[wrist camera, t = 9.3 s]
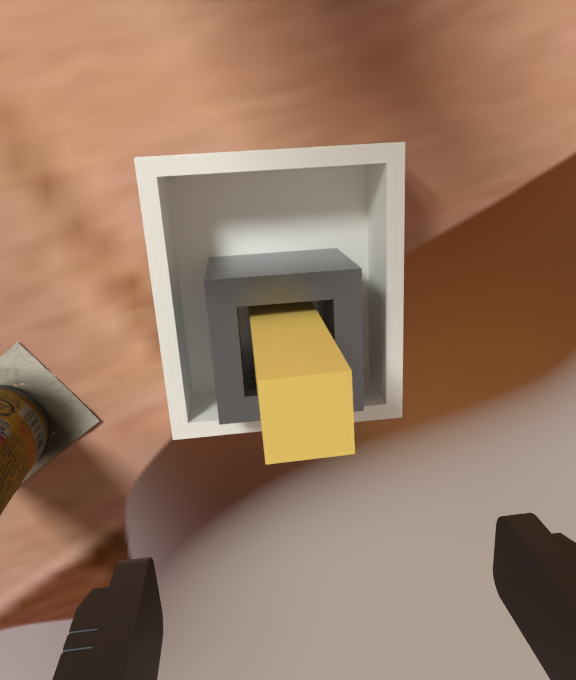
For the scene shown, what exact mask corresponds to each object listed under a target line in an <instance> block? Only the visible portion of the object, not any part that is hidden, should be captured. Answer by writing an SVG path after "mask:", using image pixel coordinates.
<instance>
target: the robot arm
mask: <svg viewBox="0 0 576 680" xmlns="http://www.w3.org/2000/svg"><path fill="white" fill-rule="evenodd" d="M493 576H494V581H495V586H496V589H497V591H498V594H499V596H500V598H501V600H502V601H503V603H504V605H505V606H506V608H507V609H508V611H509V613H510V614H511V616H512V618H513V619H514V621H515V622H516V624H517V626H518V627H519V629H520V631H521V632H522V634H523V636H524V637H525V639H526V641H527V642H528V644H529V645H530V647H531V649H532V650H533V652H534V654H535V655H536V657H537V658H538V660H539V662H540V663H541V665H542V667H543V668H544V670H545V671H546V673H547V674H548V676H549V678H550V680H576V543H575V542H574V541H572V540H570V539H569V538H567V537H566V536H564V535H563V534H561V533H554V534H551V533H550V531H549V530H548V529H547V528H546V527H545V526H544V524H543V523H542V522H541V521H540V520H539V519H538V517H536V515H534V514H532V513H526V514H517V515H509V516H501V517H499V518H498V520H497V524H496V534H495V549H494V561H493ZM162 639H163V615H162V607H161V601H160V595H159V590H158V584H157V578H156V574H155V567H154V562H153V559H152V558H151V557H148V558H140V559H131V560H123V561H118V562H117V563H116V565H115V569H114V572H113V576H112V579H111V583H110V586H109V587H105V588H97V589H92V591H91V592H90V593H89V594H88V596H87V597H86V598H85V599H84V600H83V602H82V603H81V604H80V605H79V607H78V608H77V609H76V612H75V615H74V618H73V621H72V624H71V627H70V630H69V635H68V636H67V639H66V642H65V645H64V648H63V653H62V654H61V656H60V659H59V662H58V665H57V668H56V671H55V674H54V677H53V680H157V676H158V669H159V662H160V655H161V647H162Z"/></svg>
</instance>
